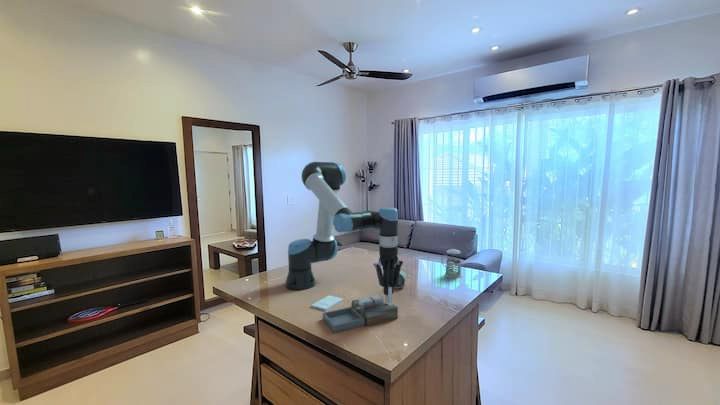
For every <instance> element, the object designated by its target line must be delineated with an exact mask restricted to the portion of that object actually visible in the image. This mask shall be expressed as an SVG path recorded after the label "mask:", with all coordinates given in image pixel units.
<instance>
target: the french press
mask: <svg viewBox="0 0 720 405" xmlns="http://www.w3.org/2000/svg"><path fill="white" fill-rule="evenodd" d="M451 234H452V235H453V236H455V235H456V232H455V231H454V232H452V233H451ZM446 253H447V254H446ZM446 253H445V254H443V255H442V257H441V260H440V261H441V265H444V263H443V261H444V257H447V258H446V259H447V260H446V264H445V265H444V268H445V273H444V276H445V277H447V278H451V279H462V278H463V275H462V273H461V272H462V271H461V270H462V269H461V268H462V267H461V266H462V263H461V261H460V260H461V259H460V257H459V258H458V257H455V255H460V254H461V253H462V251H460V250H458V249H456V248H450V249H447V250H446ZM448 254H450V255H453V256H449V257H448Z"/></svg>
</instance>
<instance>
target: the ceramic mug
mask: <svg viewBox="0 0 720 405" xmlns="http://www.w3.org/2000/svg"><path fill="white" fill-rule="evenodd" d="M407 281H408V275H407V273H406V272H404V271H403V270H400V274H399V279H398V283H397V284H395V287H394V289H395V288H396V289H401V288H403V287H404V286H405V284H406V282H407Z"/></svg>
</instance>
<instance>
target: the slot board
mask: <svg viewBox="0 0 720 405" xmlns="http://www.w3.org/2000/svg"><path fill="white" fill-rule="evenodd" d="M380 296H381V297H383V296H382V295H380ZM369 298H370V296H369ZM359 299H360V298H358V299H354V300H351V302H350V303H351V307H352V308H354V309H355V310H356V311H357V312H358V313H359V314H360V315H361V316H362V317H364V318H365V325H366V326H367V327H369V326H373V325H377V324H380V323H385V322H389V321H393V320H396V319H398V318H399V316H398V315H399V314H398V312H399V310H398V309H399V307H398V306H397V305H396V304H392V303H391V304H389V303H388V302H386V301H385V300H383V307H379V308H374V309H370V310H365V311H361V310H360V309H359Z"/></svg>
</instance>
